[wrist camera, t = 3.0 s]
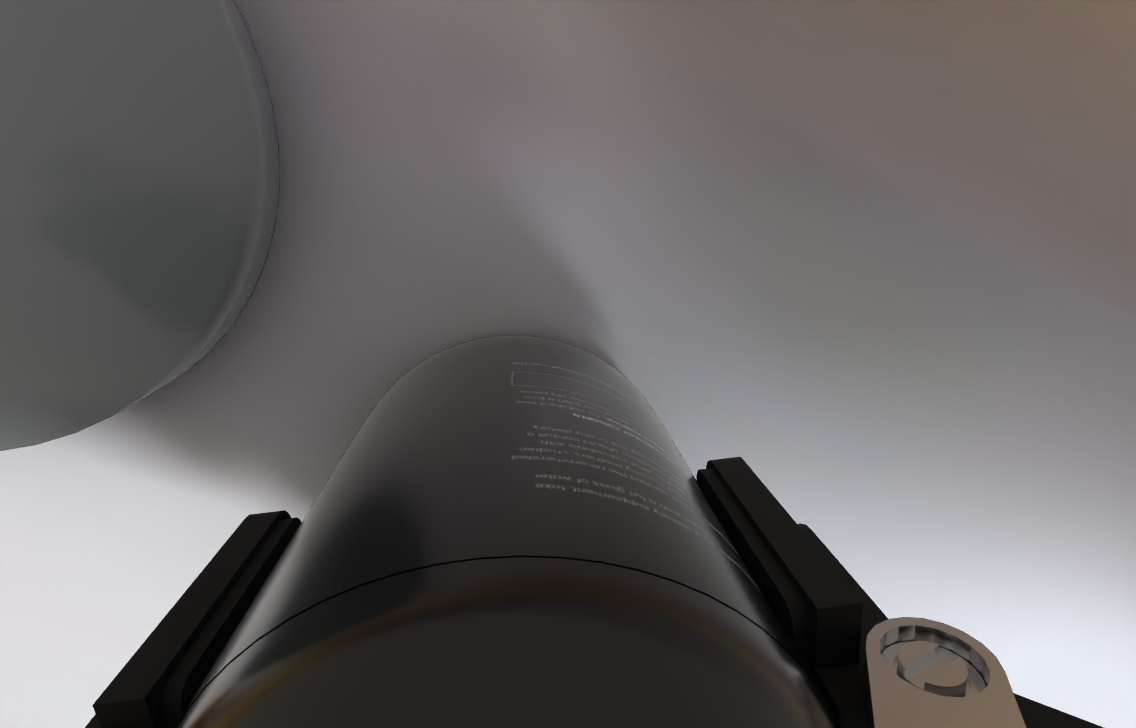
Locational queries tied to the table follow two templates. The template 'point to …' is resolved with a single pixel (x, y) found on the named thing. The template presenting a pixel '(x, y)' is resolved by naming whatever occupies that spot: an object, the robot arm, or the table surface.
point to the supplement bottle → (510, 571)
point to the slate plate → (124, 200)
